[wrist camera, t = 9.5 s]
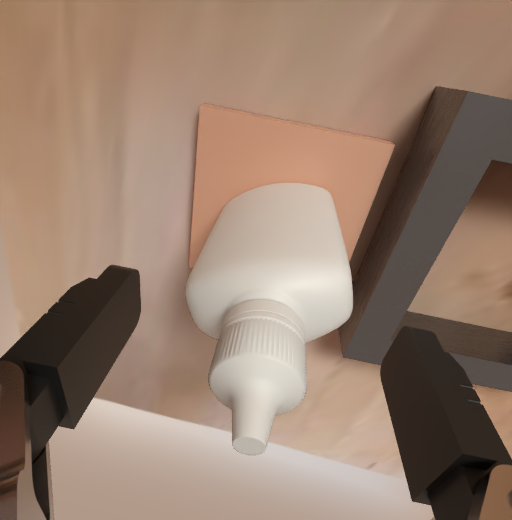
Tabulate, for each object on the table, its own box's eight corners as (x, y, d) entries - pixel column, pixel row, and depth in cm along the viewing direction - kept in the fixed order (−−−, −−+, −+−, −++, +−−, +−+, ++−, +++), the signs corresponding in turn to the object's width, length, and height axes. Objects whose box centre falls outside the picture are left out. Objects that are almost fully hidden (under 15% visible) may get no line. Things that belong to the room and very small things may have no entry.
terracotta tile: (203, 103, 15) (199, 105, 14) (390, 141, 15) (395, 144, 14) (192, 260, 20) (188, 267, 19) (333, 289, 20) (335, 297, 19)
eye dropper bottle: (311, 263, 18) (329, 519, 8) (217, 231, 18) (108, 458, 8) (346, 194, 16) (437, 430, 6) (239, 155, 15) (125, 334, 5)
